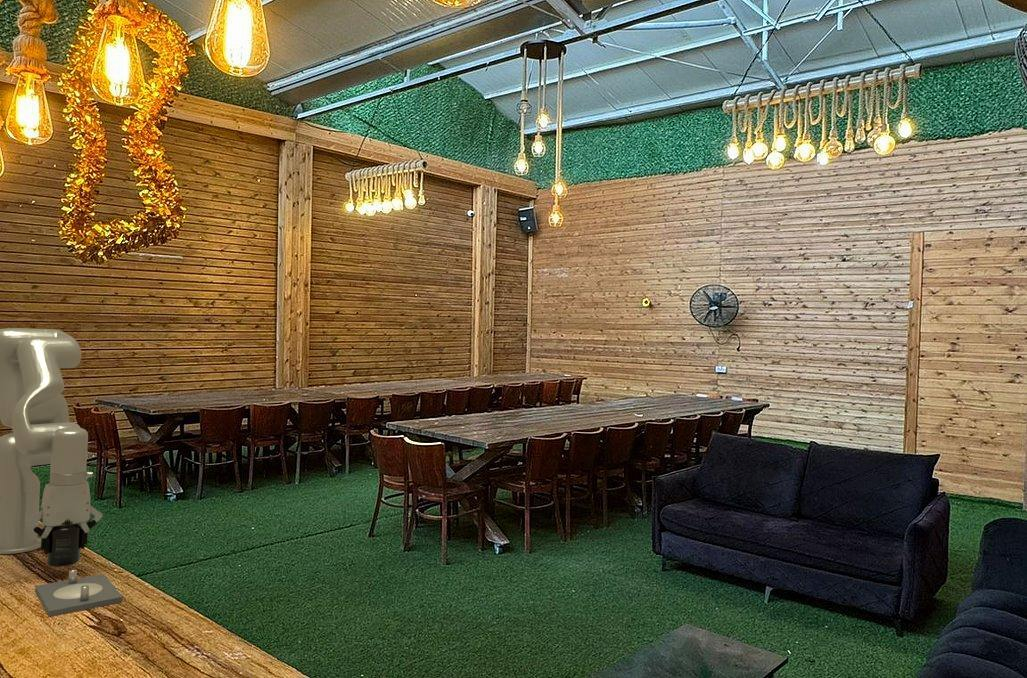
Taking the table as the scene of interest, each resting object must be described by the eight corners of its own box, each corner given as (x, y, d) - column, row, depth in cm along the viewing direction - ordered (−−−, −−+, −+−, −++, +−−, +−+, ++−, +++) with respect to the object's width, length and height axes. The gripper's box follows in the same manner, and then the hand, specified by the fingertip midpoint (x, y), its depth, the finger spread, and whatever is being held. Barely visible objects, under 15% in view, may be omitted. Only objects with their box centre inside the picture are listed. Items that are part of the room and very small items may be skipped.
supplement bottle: (86, 559, 176) (88, 512, 176) (66, 568, 170) (68, 519, 169) (60, 556, 177) (63, 509, 177) (39, 565, 170) (42, 516, 170)
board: (35, 590, 163) (35, 572, 163) (103, 578, 172) (104, 561, 172) (48, 616, 150) (49, 597, 150) (122, 602, 159) (122, 583, 159)
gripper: (104, 471, 181) (100, 540, 182) (23, 478, 170) (19, 551, 170) (111, 478, 176) (107, 548, 176) (27, 485, 164) (23, 560, 165)
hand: (64, 549), depth 173 cm, fingers closed on supplement bottle, 6 cm apart
